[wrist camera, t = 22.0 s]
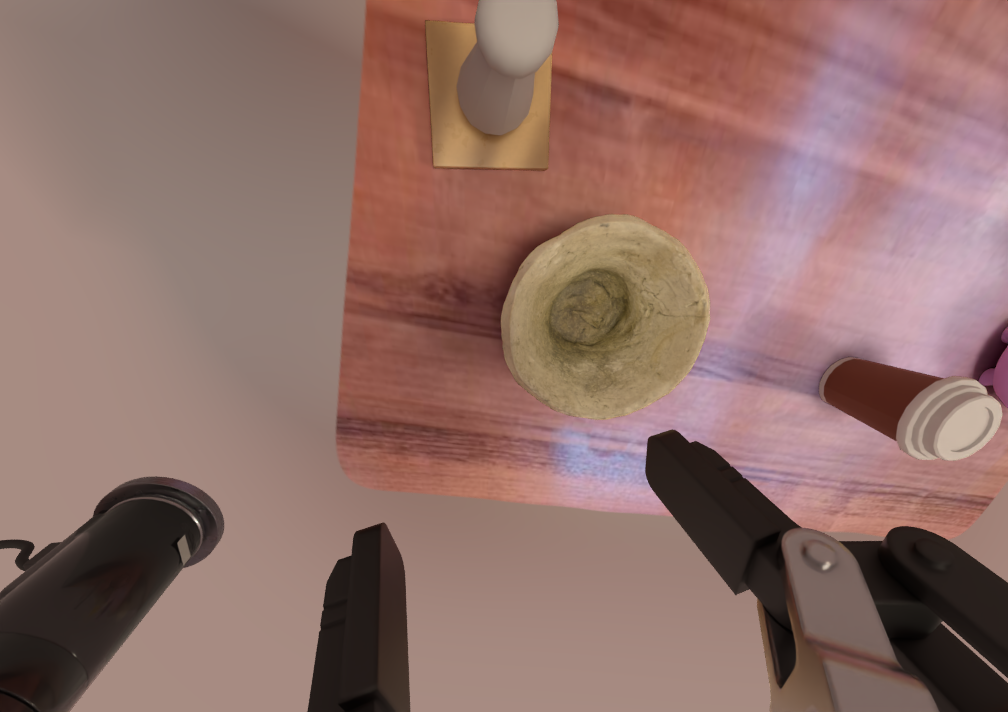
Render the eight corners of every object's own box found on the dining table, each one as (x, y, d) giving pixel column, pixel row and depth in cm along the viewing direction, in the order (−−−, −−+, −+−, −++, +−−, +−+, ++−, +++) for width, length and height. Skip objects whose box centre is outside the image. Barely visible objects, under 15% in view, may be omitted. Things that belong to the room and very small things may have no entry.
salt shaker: (514, 151, 31) (556, 101, 19) (449, 128, 30) (449, 58, 18) (535, 74, 30) (593, -33, 18) (466, 46, 29) (479, -91, 16)
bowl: (633, 299, 43) (658, 423, 38) (482, 288, 39) (488, 426, 34) (725, 217, 30) (782, 386, 25) (518, 187, 26) (536, 383, 21)
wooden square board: (433, 168, 32) (433, 166, 31) (425, 26, 29) (424, 19, 28) (545, 170, 33) (548, 168, 32) (549, 35, 30) (553, 29, 29)
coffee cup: (887, 375, 46) (1026, 421, 35) (830, 426, 48) (946, 486, 37) (855, 331, 44) (995, 366, 32) (795, 387, 45) (910, 439, 34)
